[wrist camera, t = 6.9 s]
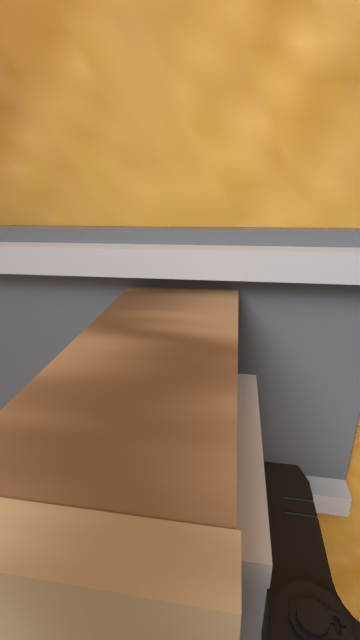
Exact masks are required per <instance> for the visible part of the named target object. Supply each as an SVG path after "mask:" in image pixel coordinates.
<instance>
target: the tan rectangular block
mask: <svg viewBox="0 0 360 640" xmlns="http://www.w3.org/2000/svg"><path fill="white" fill-rule="evenodd" d="M237 404H238V290H236V289H207V288H178V287H150V286H129V287H128V288H127V289H126V290H125V291H124V292H123V293H122V294H121V295H120V296H119V297H118V298H117V299H116V300H115V301H114V302H113V303H112V304H111V305H110V306H109V307H107V308H106V309H105V310H104V311H103V312H102V313H101V314H100V315H99V316H98V317H97V318H96V319H95V320H94V321H93V322H92V323H91V324H90V325H89V326H88V327H87V328H86V329H85V330H83V331H82V332H81V333H80V334H79V335H78V336H77V337H76V338H75V339H74V340H73V341H72V342H71V343H70V344H69V345H68V346H67V347H66V348H65V349H64V350H63V351H62V352H61V353H59V354H58V355H57V356H56V357H55V358H54V359H53V360H52V361H51V362H50V363H49V364H48V365H47V366H46V367H45V368H44V369H43V370H42V371H41V372H40V373H39V374H38V375H37V376H35V377H34V378H33V379H32V380H31V381H30V382H29V383H28V384H27V385H26V386H25V387H24V388H23V389H22V390H21V391H20V392H19V393H18V394H17V395H16V396H15V397H14V398H13V399H11V400H10V401H9V402H8V403H7V404H6V405H5V406H4V407H3V408H2V409H1V410H0V640H239V639H240V628H241V617H242V584H241V530H236V518H237Z"/></svg>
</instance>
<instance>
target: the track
mask: <svg viewBox="0 0 360 640" xmlns="http://www.w3.org/2000/svg"><path fill="white" fill-rule="evenodd" d="M129 286H150V287H178V288H207V289H236V290H238V374H250V375H256V378H257V390H258V401H259V413H260V424H261V436H262V448H263V459H264V462H273V463H282V464H292V465H298V466H299V468H300V469H301V470H302V472H303V473H304V475H305V476H306V477H307V479H308V480H309V482H310V487H311V491H312V495H313V502H314V504H315V508H316V513H320V514H328V515H336V516H344V517H348V516H349V511H350V507H351V503H352V497H351V494H350V491H349V489H348V486H347V483H346V475H347V471H348V466H349V462H350V457H351V452H352V448H353V443H354V439H355V434H356V430H357V425H358V421H359V416H360V228H250V227H127V226H5V225H0V410H1V409H2V408H3V407H4V406H5V405H6V404H7V403H8V402H9V401H10V400H11V399H13V398H14V397H15V396H16V395H17V394H18V393H19V392H20V391H21V390H22V389H23V388H24V387H25V386H26V385H27V384H28V383H29V382H30V381H31V380H32V379H33V378H34V377H35V376H37V375H38V374H39V373H40V372H41V371H42V370H43V369H44V368H45V367H46V366H47V365H48V364H49V363H50V362H51V361H52V360H53V359H54V358H55V357H56V356H57V355H58V354H59V353H61V352H62V351H63V350H64V349H65V348H66V347H67V346H68V345H69V344H70V343H71V342H72V341H73V340H74V339H75V338H76V337H77V336H78V335H79V334H80V333H81V332H82V331H83V330H85V329H86V328H87V327H88V326H89V325H90V324H91V323H92V322H93V321H94V320H95V319H96V318H97V317H98V316H99V315H100V314H101V313H102V312H103V311H104V310H105V309H106V308H107V307H109V306H110V305H111V304H112V303H113V302H114V301H115V300H116V299H117V298H118V297H119V296H120V295H121V294H122V293H123V292H124V291H125V290H126V289H127V288H128V287H129Z"/></svg>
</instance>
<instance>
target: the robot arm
mask: <svg viewBox="0 0 360 640" xmlns="http://www.w3.org/2000/svg"><path fill="white" fill-rule="evenodd" d="M236 530H241V584H242V617H241V628H240V639H239V640H360V622H359V621H357V620H356V619H355V618H354V617H353V616H352V615H351V614H350V612H349V611H348V610H347V609H346V607H345V606H344V605H343V603H342V602H341V600H340V598H339V596H338V595H337V593H336V590H335V587H334V584H333V581H332V577H331V573H330V569H329V564H328V560H327V556H326V551H325V547H324V543H323V538H322V534H321V530H320V525H319V521H318V519H317V513H316V508H315V504H314V502H313V495H312V491H311V487H310V482H309V480H308V479H307V477H306V476H305V475H304V473H303V472H302V470H301V469H300V468H299V466H298V465H292V464H282V463H273V462H264V459H263V448H262V436H261V424H260V413H259V401H258V390H257V378H256V375H250V374H238V404H237V518H236Z"/></svg>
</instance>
